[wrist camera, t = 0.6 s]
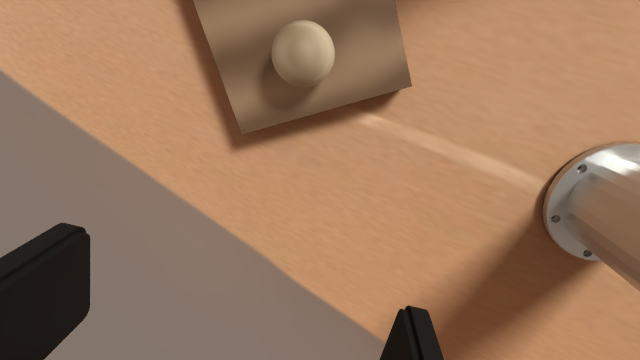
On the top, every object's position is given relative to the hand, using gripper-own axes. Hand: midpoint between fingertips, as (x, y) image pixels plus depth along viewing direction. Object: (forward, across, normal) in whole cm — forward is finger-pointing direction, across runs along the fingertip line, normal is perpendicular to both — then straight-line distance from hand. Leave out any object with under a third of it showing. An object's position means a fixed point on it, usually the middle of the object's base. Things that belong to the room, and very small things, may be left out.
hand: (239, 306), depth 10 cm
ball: (+21, +2, -7) cm, 22 cm away
